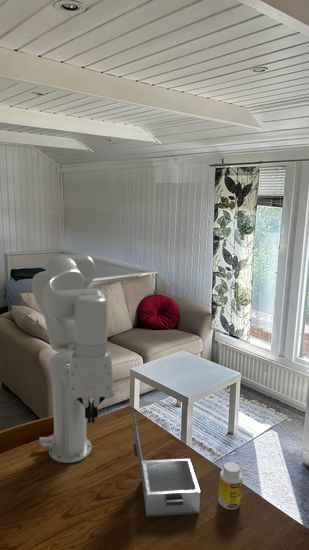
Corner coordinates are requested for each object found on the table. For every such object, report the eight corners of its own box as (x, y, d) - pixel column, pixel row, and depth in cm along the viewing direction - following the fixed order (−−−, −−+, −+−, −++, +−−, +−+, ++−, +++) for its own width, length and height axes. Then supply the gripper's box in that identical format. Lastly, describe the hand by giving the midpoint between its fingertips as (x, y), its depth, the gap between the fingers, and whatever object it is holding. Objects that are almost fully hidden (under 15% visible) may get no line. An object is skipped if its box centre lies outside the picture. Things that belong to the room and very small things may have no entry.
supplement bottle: (228, 514, 101) (231, 476, 99) (213, 500, 105) (215, 464, 104) (245, 505, 104) (247, 469, 102) (229, 492, 109) (232, 457, 107)
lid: (147, 493, 98) (140, 494, 98) (142, 460, 111) (137, 461, 111) (137, 439, 95) (131, 440, 95) (134, 411, 108) (128, 412, 108)
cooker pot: (147, 521, 98) (147, 499, 97) (141, 476, 114) (142, 457, 113) (200, 518, 99) (201, 496, 98) (187, 474, 115) (188, 454, 114)
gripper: (56, 354, 92) (58, 429, 95) (123, 353, 94) (122, 427, 97) (60, 343, 99) (61, 413, 103) (122, 342, 101) (121, 411, 104)
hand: (91, 420), depth 100 cm, fingers closed
